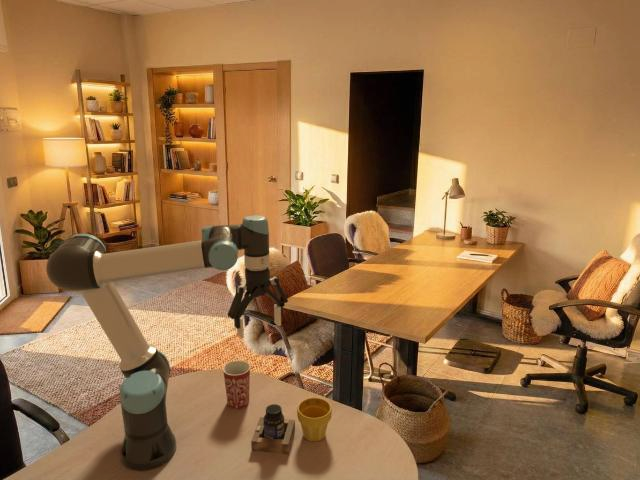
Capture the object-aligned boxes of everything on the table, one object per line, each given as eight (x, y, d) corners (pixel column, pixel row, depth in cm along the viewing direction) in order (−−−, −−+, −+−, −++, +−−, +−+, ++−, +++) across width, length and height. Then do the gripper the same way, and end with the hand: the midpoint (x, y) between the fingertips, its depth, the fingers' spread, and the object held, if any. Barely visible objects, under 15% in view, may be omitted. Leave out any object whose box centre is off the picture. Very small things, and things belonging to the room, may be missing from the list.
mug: (249, 411, 161) (248, 375, 157) (222, 410, 161) (220, 374, 157) (255, 388, 173) (253, 354, 169) (229, 388, 173) (227, 354, 169)
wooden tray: (251, 451, 143) (251, 440, 142) (260, 426, 153) (260, 416, 152) (288, 454, 142) (288, 443, 140) (295, 429, 152) (294, 419, 151)
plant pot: (327, 448, 144) (328, 420, 141) (293, 443, 146) (293, 415, 143) (333, 425, 154) (334, 399, 151) (302, 421, 156) (301, 395, 153)
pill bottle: (281, 448, 144) (280, 416, 141) (261, 445, 145) (260, 413, 142) (287, 435, 150) (286, 404, 146) (268, 432, 151) (267, 401, 148)
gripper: (225, 279, 137) (229, 347, 143) (298, 261, 152) (298, 323, 158) (213, 272, 143) (218, 337, 149) (284, 255, 158) (285, 315, 164)
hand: (259, 330), depth 154 cm, fingers open, 13 cm apart
